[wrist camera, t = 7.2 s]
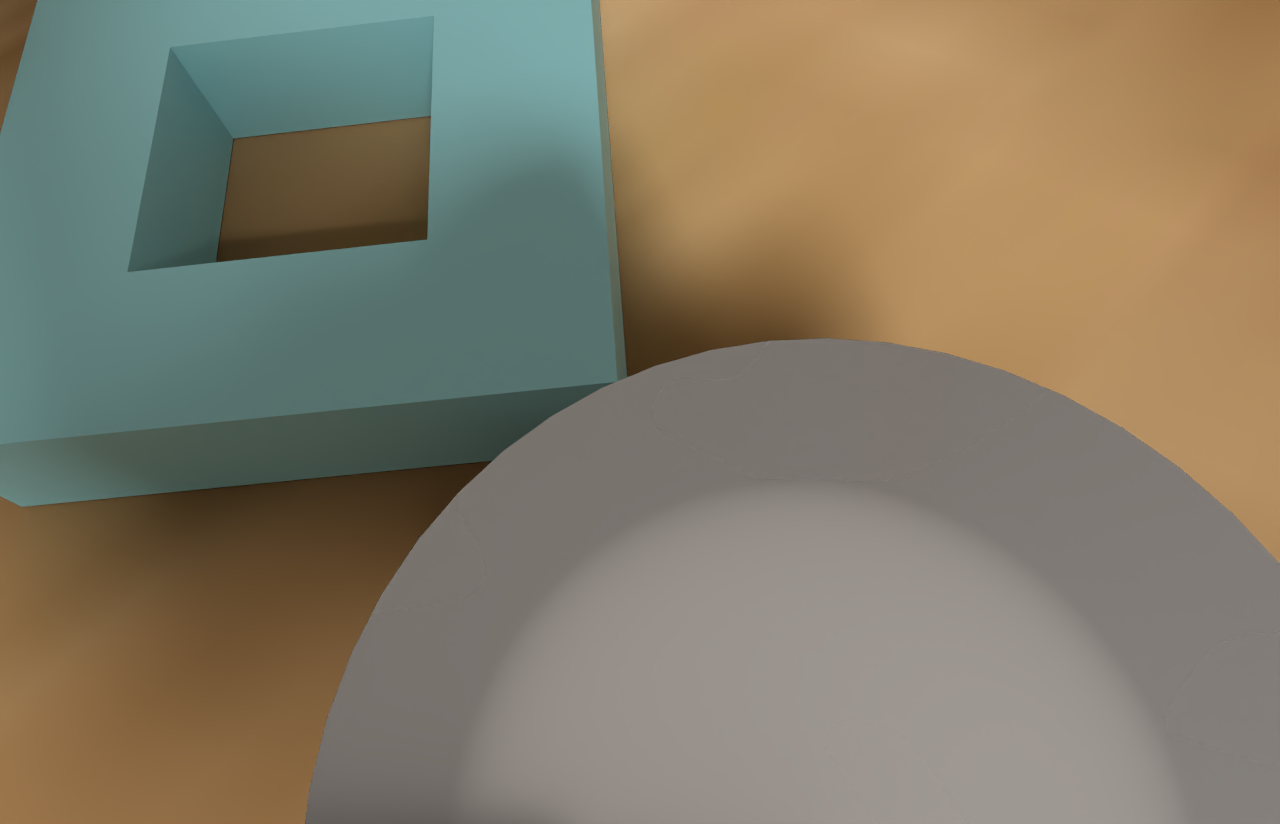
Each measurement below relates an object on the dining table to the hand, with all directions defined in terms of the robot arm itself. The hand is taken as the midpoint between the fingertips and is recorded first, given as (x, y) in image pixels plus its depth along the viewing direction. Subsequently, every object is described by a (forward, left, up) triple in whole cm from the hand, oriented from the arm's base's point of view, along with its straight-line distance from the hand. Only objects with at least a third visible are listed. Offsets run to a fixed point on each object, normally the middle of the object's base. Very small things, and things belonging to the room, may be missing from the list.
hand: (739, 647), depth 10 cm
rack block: (-8, +12, -7) cm, 16 cm away
